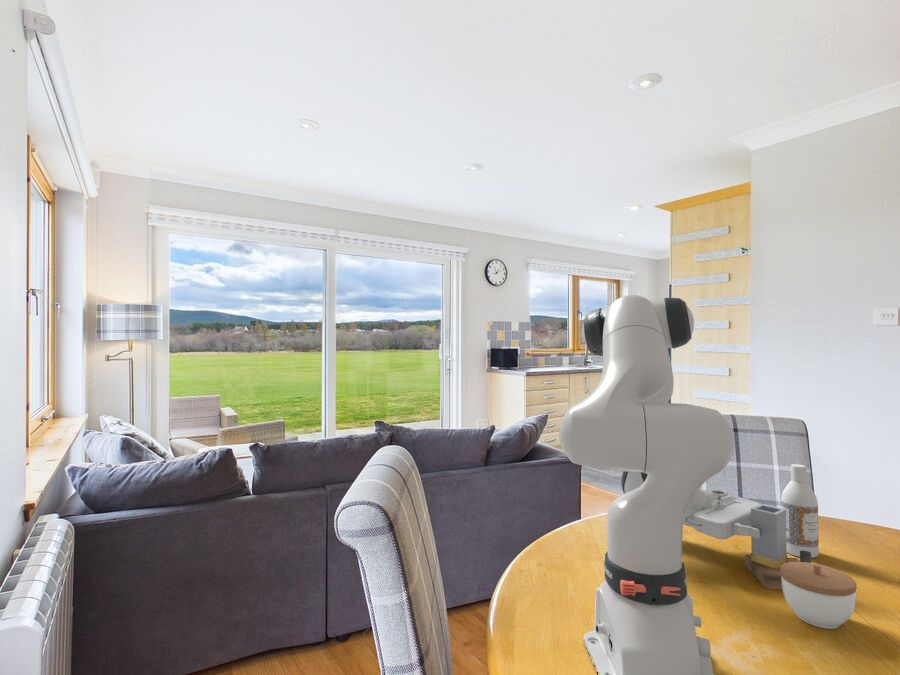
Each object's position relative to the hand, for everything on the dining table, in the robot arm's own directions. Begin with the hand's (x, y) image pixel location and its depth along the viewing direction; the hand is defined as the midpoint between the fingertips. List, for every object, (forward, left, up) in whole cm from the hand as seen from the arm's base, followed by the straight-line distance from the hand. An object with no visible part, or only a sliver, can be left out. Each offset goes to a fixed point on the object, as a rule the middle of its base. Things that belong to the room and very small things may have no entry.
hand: (770, 528), depth 104 cm
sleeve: (0, 0, -7) cm, 7 cm away
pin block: (-2, -1, -10) cm, 10 cm away
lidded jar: (-17, -1, -10) cm, 20 cm away
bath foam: (+13, -11, -10) cm, 20 cm away
